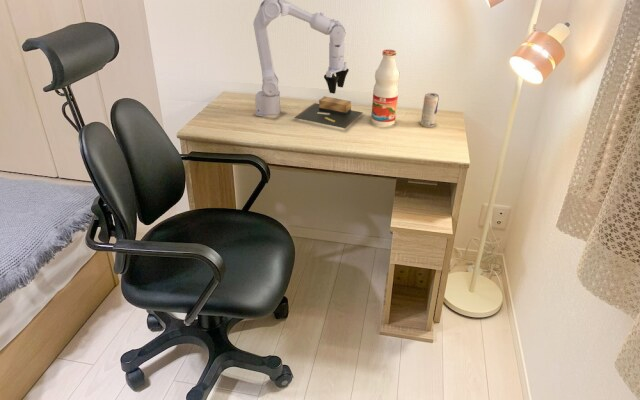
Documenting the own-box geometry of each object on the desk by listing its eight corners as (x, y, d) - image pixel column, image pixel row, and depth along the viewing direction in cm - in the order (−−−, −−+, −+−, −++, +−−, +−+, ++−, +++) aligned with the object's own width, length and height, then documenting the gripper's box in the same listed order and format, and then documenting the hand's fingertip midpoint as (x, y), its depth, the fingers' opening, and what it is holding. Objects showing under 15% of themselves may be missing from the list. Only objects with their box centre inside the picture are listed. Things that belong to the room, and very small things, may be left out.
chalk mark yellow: (324, 118, 188) (324, 117, 188) (326, 117, 188) (326, 117, 188) (333, 122, 185) (333, 121, 185) (335, 121, 185) (335, 120, 185)
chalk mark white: (317, 113, 192) (317, 113, 192) (317, 112, 193) (317, 112, 192) (329, 114, 191) (329, 114, 191) (329, 113, 192) (329, 113, 192)
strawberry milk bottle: (398, 121, 190) (405, 49, 175) (390, 129, 182) (398, 56, 167) (375, 117, 193) (381, 46, 178) (367, 125, 186) (372, 52, 171)
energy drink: (436, 123, 188) (440, 94, 182) (432, 128, 184) (437, 98, 178) (422, 121, 190) (426, 91, 184) (419, 125, 186) (423, 96, 179)
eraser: (319, 109, 195) (319, 100, 193) (324, 105, 199) (324, 96, 197) (345, 115, 191) (346, 105, 189) (350, 111, 195) (351, 101, 192)
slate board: (294, 120, 189) (294, 117, 188) (314, 105, 202) (314, 103, 202) (345, 131, 181) (345, 128, 180) (363, 115, 194) (363, 112, 194)
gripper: (338, 61, 176) (338, 97, 183) (353, 51, 187) (352, 85, 194) (321, 59, 178) (321, 94, 186) (337, 49, 189) (337, 83, 197)
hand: (336, 89), depth 190 cm, fingers open, 7 cm apart
